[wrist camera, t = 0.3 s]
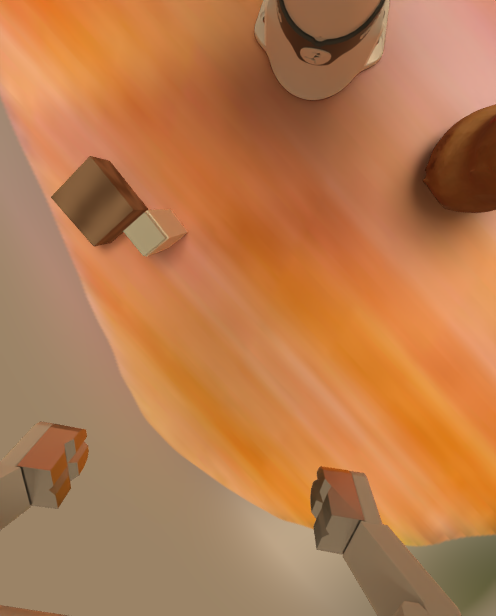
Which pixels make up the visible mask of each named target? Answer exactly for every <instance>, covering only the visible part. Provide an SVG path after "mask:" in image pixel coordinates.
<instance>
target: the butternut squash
mask: <svg viewBox="0 0 496 616" xmlns="http://www.w3.org/2000/svg"><path fill="white" fill-rule="evenodd" d="M425 171H426V177H425V179H424V180H423V182H424V183H425V184H426V185H427V186H428V188H429V189H430V191H431V192H432V194H433V195H434V196H435V198H436V199H437V200H438V202H439V203H441V204H442V205H443V207H444V208H445V209H449V210H453V211H458V212H471V213H481V212H488V211H492V210H496V104H495V105H492V106H489V107H486V108H483V109H480V110H478V111H476V112H473V113H472V114H470V115H468V116H466V117H465V118H463V119H461V120H460V121H458V122H457V123H456V124H454V125H453V126H452V127H451V128H450V129H449V130H448V131H447V132H446V133H445V134H444V136H443V137H442V138H441V140H440V141H439V142H438V143H437V145H436V147H435V148H434V150H433V152H432V154H431V157H430V160H429V163H428V165H427V167H426V169H425Z"/></svg>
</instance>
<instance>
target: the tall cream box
mask: <svg viewBox="0 0 496 616" xmlns="http://www.w3.org/2000/svg"><path fill="white" fill-rule="evenodd" d="M123 232H124V233H125V234H126V236H127V237H128V238H129V239H130V240H131V242H132V243H133V244H134V245H135V247H136V248H137V249H138V250H139V251H140V253H141V254H142V255H143V256H146V257H147V256H150V255H152V254H155V253H157V252H160V251H162V250H165V249H168V248H169V247H171V246H172V245H173V244H174V243H175V242H177V241H178V240H179V239H180V238H182V237H183V236H184V235H185V234H187V233H188V231H187V230H186V228H185V227H184V226H183V224H182V223H181V222H180V220H179V219H178V218H177V217H176V215H175V214H174V213H173V211H172V210H171V209H160V210H147V211H146V212H144V213H143V214H142V215H141V216H140V217H139V218H138V219H136V220H135V221H134V222H133V223H132V224H131V225H130V226H128V227H127V228H126V229H125V230H124V231H123Z"/></svg>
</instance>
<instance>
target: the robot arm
mask: <svg viewBox="0 0 496 616" xmlns="http://www.w3.org/2000/svg"><path fill="white" fill-rule="evenodd" d="M389 4H390V0H263V3H262V6H261V9H260V12H259V15H258V18H257V21H256V24H255V30H254V34H255V38H256V40H257V41H258V43H259V44H260V45H261V47H262V48H263V49H264V50H265V51H266V53H267V55H268V57H269V60H270V63H271V67H272V69H273V72H274V74H275V76H276V78H277V79H278V81H279V82H280V84H281V85H282V86H283V87H284V88H285V89H286V90H287V91H288V92H290V93H291V94H293V95H294V96H297V97H299V98H302V99H306V100H320V99H324V98H327V97H330V96H332V95H334V94H336V93H338V92H339V91H341V90H342V89H343V88H345V87H346V86H347V85H348V84H349V83H350V82H351V81H352V80H353V78H354V77H355V76H356V75H357V74H358V73H360V72H361V71H363V70H365V69H367V68H369V67H371V66H373V65H374V64H376V63H377V62H378V61H379V60H380V58H381V56H382V54H383V50H384V42H385V35H386V27H387V19H388V11H389ZM263 20H264V22H263ZM377 43H378V44H377ZM376 44H377V45H376ZM86 437H87V433H86V430H85V429H79V428H74V427H69V426H64V425H58V424H52V423H47V422H39V423H37V424H35V425H34V426H33V427H32V428H31V429H30V430H29V431H28V432H27V433H26V434H25V436H24V437H23V438H22V439H21V440H20V441H19V442H18V443H17V444H16V445H15V446H14V447H13V448H12V450H11V451H10V452H9V453H8V454H7V455H6V456H5V457H4V458H3V459H2V460H1V461H0V530H2V529H3V528H4V527H5V526H7V525H8V524H9V523H11V522H12V521H13V520H15V519H16V518H17V517H19V516H20V515H21V514H22V513H24V512H25V511H26V510H28V509H29V508H30V505H31V506H39V507H47V508H55V509H58V508H59V506H60V505H61V503H62V502H63V500H64V498H65V497H66V495H67V494H68V492H69V490H70V489H71V484H70V481H71V480H72V479H74V478H76V477H77V476H79V474H80V473H81V471H82V469H83V468H84V466H85V463H86V461H87V458H88V452H89V450H88V445H87V444H86V443H85V442H84V440H85V439H86ZM317 478H318V479H317V480H315V481H314V482H313V485H312V488H311V496H310V499H311V511H312V513H313V515H314V516H315V518H316V522H315V524H314V534H315V541H316V548H317V550H321V551H327V552H332V553H337V554H343V558H344V559H345V561H346V562H347V565H348V566H349V568H350V570H351V571H352V573H353V575H354V576H355V578H356V580H357V581H358V583H359V585H360V587H361V588H362V590H363V592H364V593H365V595H366V597H367V599H368V600H369V602H370V603H371V605H372V607H373V609H374V610H375V612H376V614H377V616H462V615H461V613H460V611H459V609H458V607H457V606H456V605H455V604H454V603H453V601H452V600H451V599H450V598H449V597H448V596H447V594H446V593H445V592H444V591H443V590H442V589H441V587H440V586H439V585H438V584H437V583H436V582H435V581H434V579H433V578H432V577H431V576H430V575H429V573H428V572H427V571H426V570H425V569H424V568H423V567H422V565H421V564H420V563H419V562H418V561H417V559H416V558H415V557H414V556H413V555H412V554H411V552H410V551H409V550H408V549H407V548H406V547H405V545H404V544H403V543H402V542H401V541H400V540H399V539H398V537H397V536H396V535H395V534H394V533H393V532H392V530H391V529H390V528H389V527H388V526H387V525H384V524H382V521H381V518H380V515H379V512H378V509H377V506H376V503H375V500H374V497H373V494H372V491H371V488H370V485H369V482H368V479H367V476H366V475H365V474H364V473H360V472H353V471H348V470H342V469H335V468H328V467H322V466H321V467H320V468H319V469H318V471H317ZM0 616H67V615H61V614H55V613H48V612H42V611H35V610H28V609H22V608H16V607H9V606H2V605H0Z"/></svg>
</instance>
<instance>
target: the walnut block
mask: <svg viewBox="0 0 496 616" xmlns="http://www.w3.org/2000/svg"><path fill="white" fill-rule="evenodd" d="M51 198H52V199H53V200H54V201H55V202H56V204H57V205H58V206H59V207H60V208H61V209H62V210H63V212H64V213H65V214H66V215H67V216H68V217H69V219H70V220H71V221H72V222H73V223H74V224H75V225H76V227H77V228H78V229H79V230H80V231H81V232H82V234H83V235H84V236H85V237H86V238H87V239H88V240H89V242H90V243H91V244H92V245H93V246H98V245H102V244H107V243H111V242H112V241H114V240H115V239H116V238H117V237H118V236H119V235H120V234H121V233H122V232H123V231H124V230H125V229H126V228H127V227H128V226H130V225H131V224H132V223H133V222H134V221H135V220H136V219H138V218H139V217H140V216H141V215H142V214H143V213H144V212H146V211H147V210H148V208H147V207H146V206H145V205H144V203H143V202H142V201H141V200H140V198H139V197H138V196H137V195H136V193H135V192H134V191H133V190H132V188H131V187H130V186H129V185H128V183H127V182H126V181H125V179H124V178H123V177H122V176H121V174H120V173H119V172H118V171H117V169H116V168H115V167H114V166H113V164H112V163H111V162H110V161H108V160H104V159H100V158H96V157H92V156H90V157H89V158H88V159H87V160H86V161H85V162H84V163H83V164H82V165H81V166H80V167H79V168H78V169H77V170H76V171H75V172H74V173H73V175H72V176H71V177H70V178H69V179H68V180H67V181H66V182H65V183H64V184H63V185H62V186H61V187H60V188H59V189H58V190H57V191H56V192H55V193H54V195H53V196H52V197H51Z"/></svg>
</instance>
